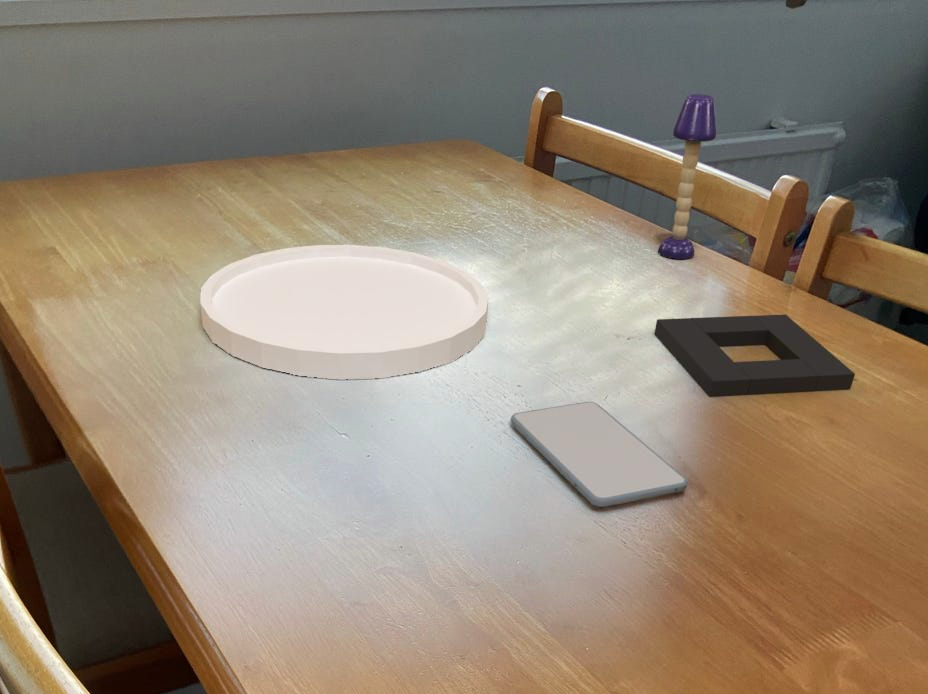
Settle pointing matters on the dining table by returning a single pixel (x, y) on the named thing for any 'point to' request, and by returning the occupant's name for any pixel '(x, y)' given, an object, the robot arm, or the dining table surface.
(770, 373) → the square frame
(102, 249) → the dining table surface
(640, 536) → the dining table surface
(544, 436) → the smartphone
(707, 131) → the toy lamp
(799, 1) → the robot arm
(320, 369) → the plate
